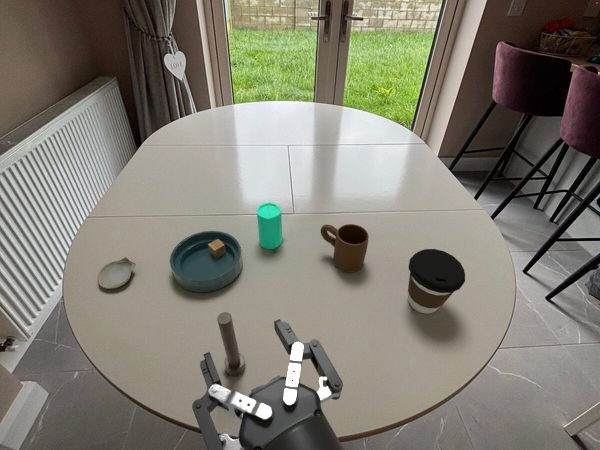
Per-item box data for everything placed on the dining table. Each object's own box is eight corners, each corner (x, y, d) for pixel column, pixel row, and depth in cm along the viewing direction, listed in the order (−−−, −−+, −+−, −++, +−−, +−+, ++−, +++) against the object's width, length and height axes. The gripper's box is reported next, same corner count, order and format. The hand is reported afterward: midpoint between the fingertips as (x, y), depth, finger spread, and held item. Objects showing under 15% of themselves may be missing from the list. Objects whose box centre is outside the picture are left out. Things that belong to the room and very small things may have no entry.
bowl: (193, 306, 72) (189, 293, 69) (163, 262, 82) (158, 249, 79) (255, 270, 80) (254, 257, 77) (221, 235, 89) (219, 222, 87)
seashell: (99, 284, 78) (111, 297, 73) (91, 275, 77) (103, 289, 72) (129, 260, 82) (143, 272, 77) (122, 252, 80) (136, 263, 75)
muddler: (231, 380, 60) (218, 332, 50) (222, 364, 63) (208, 315, 52) (248, 368, 62) (240, 320, 52) (239, 353, 64) (229, 304, 54)
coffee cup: (452, 327, 69) (473, 291, 61) (399, 319, 71) (412, 283, 63) (444, 286, 78) (461, 250, 70) (396, 279, 79) (408, 243, 71)
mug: (312, 258, 84) (313, 230, 77) (326, 240, 88) (328, 213, 82) (355, 278, 79) (361, 250, 73) (368, 258, 84) (374, 230, 78)
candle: (260, 233, 90) (257, 197, 82) (282, 233, 90) (282, 198, 82) (258, 248, 86) (254, 212, 78) (281, 249, 86) (280, 213, 78)
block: (216, 259, 82) (214, 250, 80) (209, 252, 84) (207, 244, 82) (226, 253, 84) (224, 244, 82) (219, 247, 85) (218, 238, 83)
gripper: (391, 432, 28) (297, 295, 39) (231, 547, 23) (173, 351, 33) (376, 458, 33) (296, 330, 44) (241, 558, 28) (188, 384, 38)
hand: (243, 339), depth 38 cm, fingers open, 8 cm apart
